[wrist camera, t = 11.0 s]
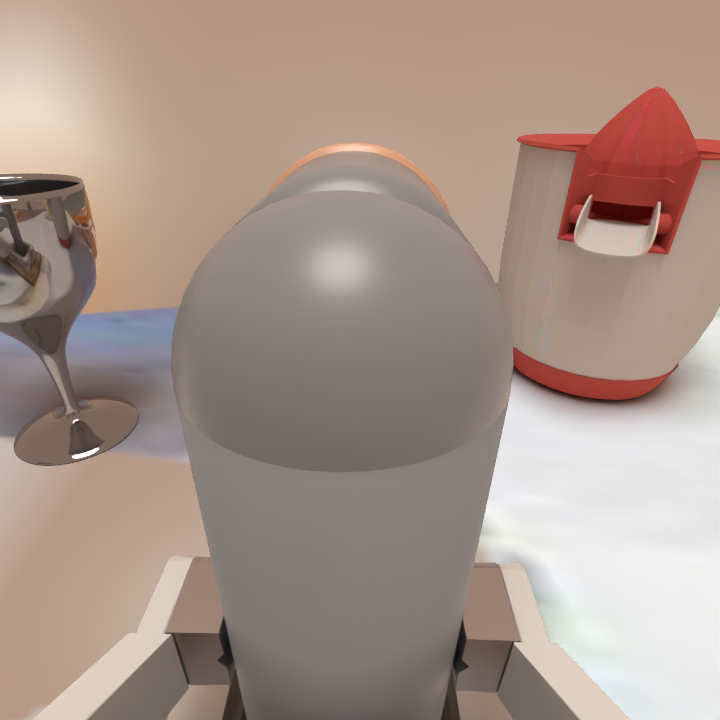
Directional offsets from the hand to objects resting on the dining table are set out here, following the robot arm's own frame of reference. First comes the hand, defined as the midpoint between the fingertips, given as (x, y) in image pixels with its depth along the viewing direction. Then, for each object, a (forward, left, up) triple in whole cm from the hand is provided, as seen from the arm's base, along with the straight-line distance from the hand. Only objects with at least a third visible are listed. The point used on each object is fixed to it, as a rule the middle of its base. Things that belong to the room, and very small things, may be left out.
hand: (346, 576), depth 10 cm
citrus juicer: (+18, +26, -10) cm, 33 cm away
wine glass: (-18, +17, -10) cm, 27 cm away
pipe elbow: (0, +1, -7) cm, 7 cm away
